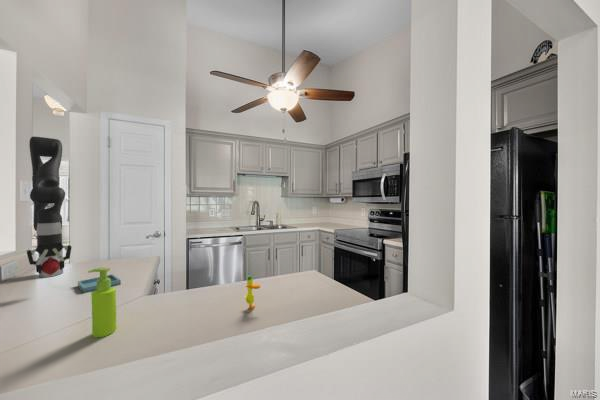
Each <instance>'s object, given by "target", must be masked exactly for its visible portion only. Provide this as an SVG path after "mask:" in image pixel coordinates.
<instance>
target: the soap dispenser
mask: <svg viewBox="0 0 600 400" xmlns="http://www.w3.org/2000/svg"><path fill="white" fill-rule="evenodd" d="M110 270H111V268H110V267H98V268H97V267H96V268H94V269H91V270H88V271H87V273H88V274H89V273H97V272H98V273H99V277H100V279H99V280H97V290H95V291H91V323H92V325H91V327H92V329H91V330H92V337H93V338H95V339H97V338H98V337H100V338H105V337H107V335H108V336H110V335H112V334H114V333H115V332H116V331H117V330H118V329H117V328H118V327H117V291H116V290H117V289H116V287H115V286H112V287H111V282H110V278H108V277H107V275H108V273H107V272H109V271H110ZM116 329H117V330H116ZM115 330H116V331H115ZM114 331H115V332H114ZM113 332H114V333H113ZM111 333H112V334H111ZM109 334H110V335H109ZM104 336H105V337H104ZM98 339H99V338H98Z"/></svg>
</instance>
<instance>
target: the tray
mask: <svg viewBox="0 0 600 400" xmlns="http://www.w3.org/2000/svg"><path fill="white" fill-rule="evenodd" d="M107 277H108V278H110V282H111V287H115V286H120V285H121V284H122V280H121V279H120V278H119V277H117V276H116V275H115V274H112V273H111V274H107ZM99 279H100V276H98V277H94V278H92V277H91V278H87V279H83V280H78V281H77V287H78V288H79V289H80V290H81V292H82V294H87V293H90V292H91V293H92V292H93V291H96V290H97V280H99Z"/></svg>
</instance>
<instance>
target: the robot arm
mask: <svg viewBox="0 0 600 400" xmlns="http://www.w3.org/2000/svg"><path fill="white" fill-rule="evenodd" d="M28 147H29V152H30V154H29V155H30V160H31V170H32V172H31V173H32V175H31V176H32V177H31V179H32V180H31V185H32V187H31V191H30V194H29V199H30V200H31V202H33V217H32V219H33V220H32V221H33V223H32V224H33V230H34V231H36V248H34V249H27V250H26V255H27V258H28V262H29V265H35V271H36V273H38V277H39V278H49V277H50V278H52V277H54V276H55V277H56V276H59V275H61V274H64V268H65V261H66V260H69V259H70V257H71V252H72V245H70V244H69V245H63V216H62V214H61V210H62V205H63V203H64V200H65V197H66V192H65V190H64V189H63V188H62V187H59V186H60V168H61V163H62V157H63V144H62V142H61V140H60V139H58V138H57V139H56V138H50V137H42V136H31V137H30V139H29V146H28ZM41 157H44V158H45V157H46V158H50V159H49V160H47V161H46V162H45V161H44V162H43V160H42V158H41ZM49 204H53V206H51V207H48V205H49ZM63 249H64V250H63ZM63 251H65V255H64V256H63V254H64V253H63ZM35 253H37V254H38V258H37V260H34V258H33V256H34V255H35ZM49 257H52V258H53V259H56V260H57V261H58V262H59V263H60V268H59V269H58V270H57V271H56V272H55V273H53V274H52V275H48V274H46V273H44V272H43V271H42V270H41V266H42V264H43V263H44V262H45V261H46V260H48V258H49Z"/></svg>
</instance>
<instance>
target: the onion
mask: <svg viewBox="0 0 600 400" xmlns="http://www.w3.org/2000/svg"><path fill="white" fill-rule="evenodd" d="M59 268H60V263H59V262H58V261H57V260H56V259H53V258H52V257H49V258H48V260H46V261H45V262H44V263H43V264H42V266H41V270H42V271H43V272H44V273H46V274H48V275H52V274H53V273H55V272H56V271H57V270H58V269H59Z"/></svg>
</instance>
